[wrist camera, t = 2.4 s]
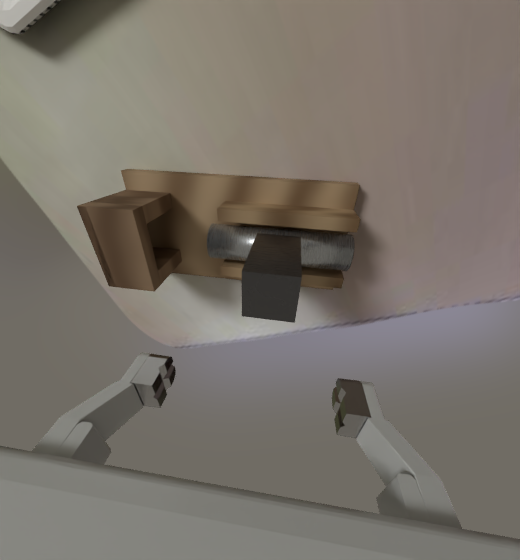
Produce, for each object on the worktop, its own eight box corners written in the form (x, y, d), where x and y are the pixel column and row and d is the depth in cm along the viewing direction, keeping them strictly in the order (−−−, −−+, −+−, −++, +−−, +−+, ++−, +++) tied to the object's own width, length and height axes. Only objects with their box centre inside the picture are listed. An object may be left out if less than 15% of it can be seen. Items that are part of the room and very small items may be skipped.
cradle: (357, 182, 22) (381, 203, 16) (331, 284, 29) (341, 328, 22) (128, 168, 24) (67, 181, 18) (153, 265, 31) (114, 300, 25)
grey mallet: (349, 227, 23) (381, 285, 14) (340, 262, 25) (363, 330, 16) (216, 217, 24) (170, 263, 16) (218, 250, 27) (179, 308, 18)
